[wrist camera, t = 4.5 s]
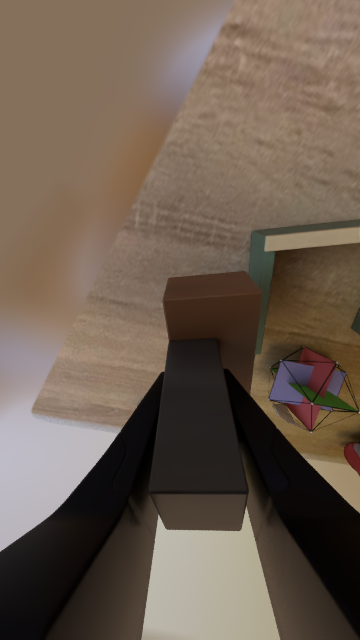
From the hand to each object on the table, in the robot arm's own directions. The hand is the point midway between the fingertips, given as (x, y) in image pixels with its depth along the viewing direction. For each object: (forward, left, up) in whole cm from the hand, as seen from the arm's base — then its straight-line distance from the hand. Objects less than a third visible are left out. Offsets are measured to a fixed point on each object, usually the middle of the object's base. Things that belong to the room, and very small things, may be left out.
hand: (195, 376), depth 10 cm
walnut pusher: (0, 0, -4) cm, 4 cm away
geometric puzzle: (-11, +9, -10) cm, 17 cm away
